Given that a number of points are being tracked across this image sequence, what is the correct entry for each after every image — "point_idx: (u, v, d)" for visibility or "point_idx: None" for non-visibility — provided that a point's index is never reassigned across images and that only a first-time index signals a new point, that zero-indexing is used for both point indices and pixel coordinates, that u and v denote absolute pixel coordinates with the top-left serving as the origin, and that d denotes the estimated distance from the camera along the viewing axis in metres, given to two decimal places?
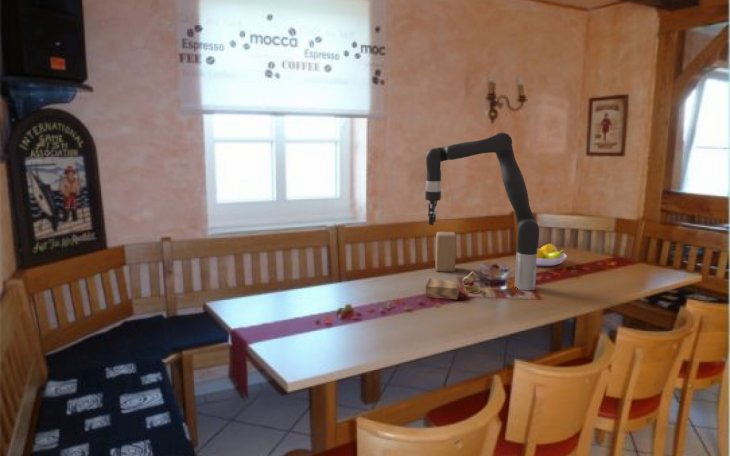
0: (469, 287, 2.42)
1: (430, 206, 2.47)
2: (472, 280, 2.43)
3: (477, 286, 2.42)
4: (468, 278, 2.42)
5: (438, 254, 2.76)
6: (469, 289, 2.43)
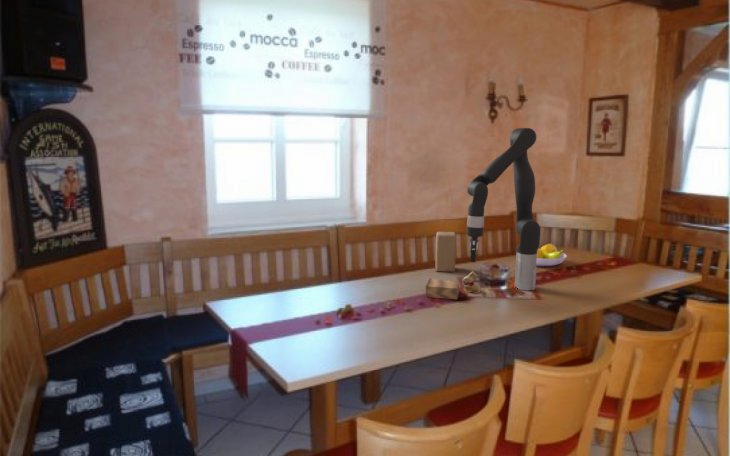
0: (469, 287, 2.42)
1: (473, 243, 2.34)
2: (472, 280, 2.43)
3: (477, 286, 2.42)
4: (468, 278, 2.42)
5: (438, 254, 2.76)
6: (469, 289, 2.43)
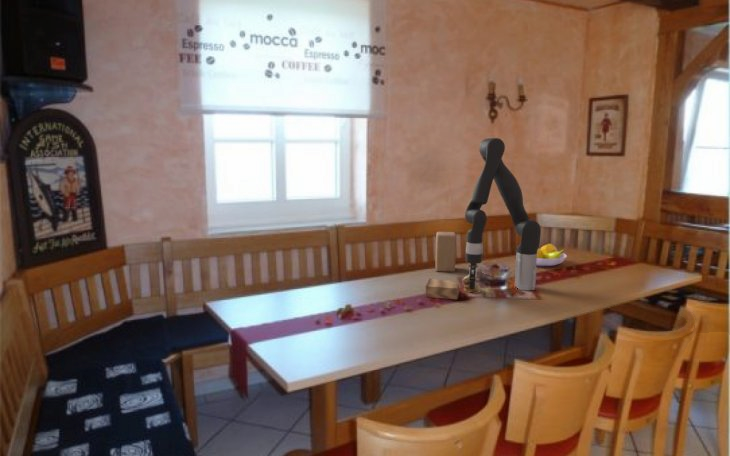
0: (469, 287, 2.42)
1: (471, 272, 2.36)
2: None
3: (477, 286, 2.42)
4: (468, 278, 2.42)
5: (438, 254, 2.76)
6: (469, 289, 2.43)
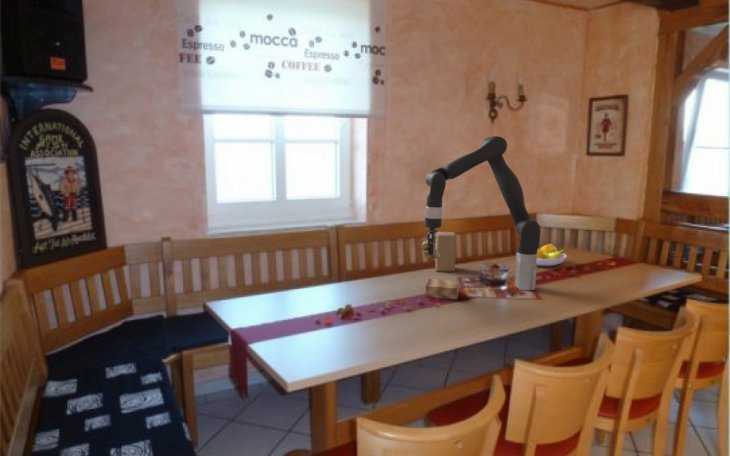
0: None
1: (429, 237, 2.31)
2: None
3: (436, 252, 2.37)
4: (427, 243, 2.37)
5: None
6: (428, 254, 2.38)
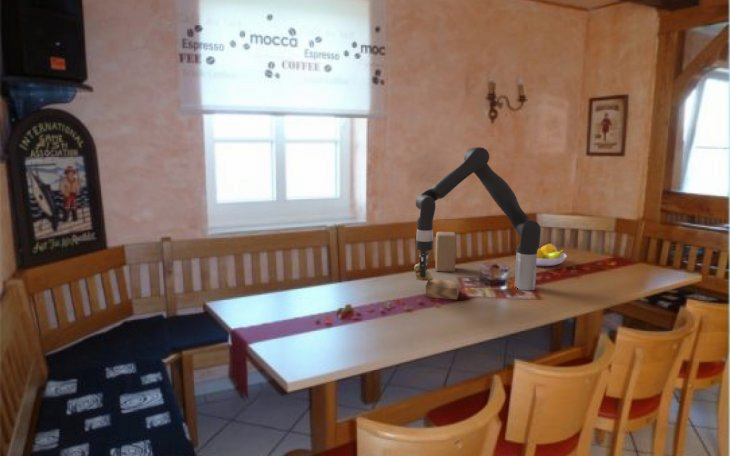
0: None
1: (421, 260, 2.33)
2: None
3: (428, 274, 2.39)
4: (418, 265, 2.38)
5: (438, 254, 2.76)
6: (420, 277, 2.39)
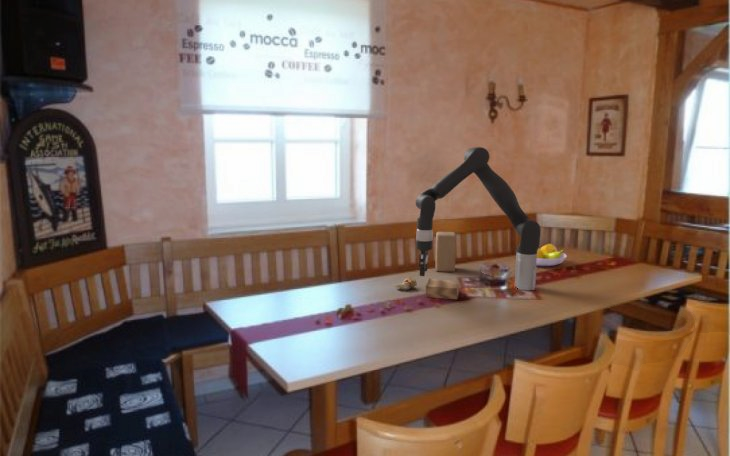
0: (409, 279, 2.47)
1: (421, 257, 2.32)
2: None
3: None
4: (403, 283, 2.45)
5: (438, 254, 2.76)
6: (411, 279, 2.48)
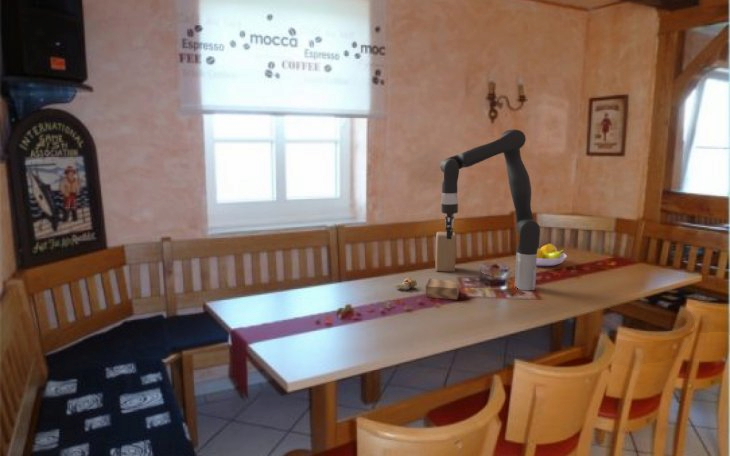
0: (409, 279, 2.47)
1: (448, 220, 2.35)
2: None
3: None
4: (403, 283, 2.45)
5: (438, 254, 2.76)
6: (411, 279, 2.48)
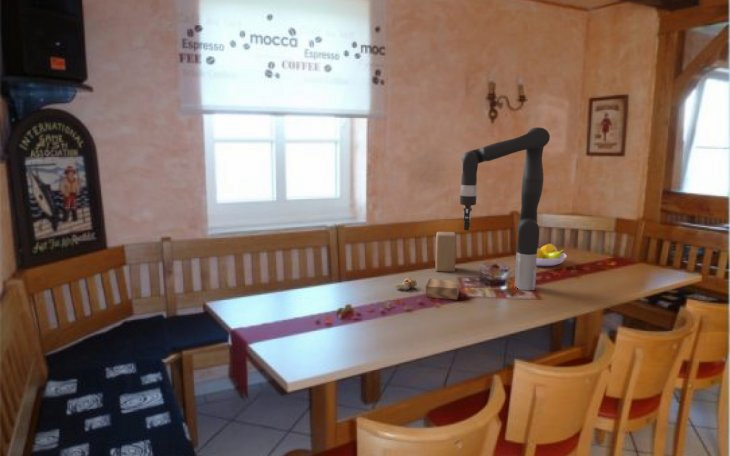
0: (409, 279, 2.47)
1: (466, 211, 2.40)
2: None
3: None
4: (403, 283, 2.45)
5: (438, 254, 2.76)
6: (411, 279, 2.48)
